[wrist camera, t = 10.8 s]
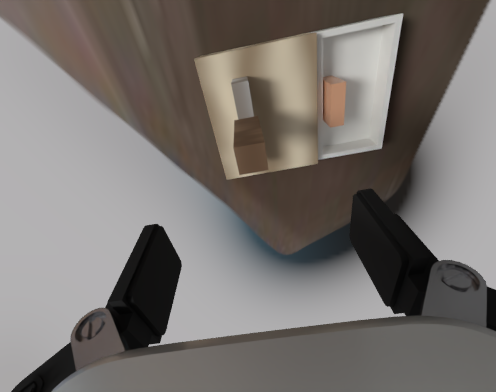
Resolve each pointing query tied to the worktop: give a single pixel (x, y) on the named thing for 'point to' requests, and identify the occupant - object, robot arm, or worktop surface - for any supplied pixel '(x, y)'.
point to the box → (357, 82)
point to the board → (266, 99)
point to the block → (333, 101)
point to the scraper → (247, 131)
